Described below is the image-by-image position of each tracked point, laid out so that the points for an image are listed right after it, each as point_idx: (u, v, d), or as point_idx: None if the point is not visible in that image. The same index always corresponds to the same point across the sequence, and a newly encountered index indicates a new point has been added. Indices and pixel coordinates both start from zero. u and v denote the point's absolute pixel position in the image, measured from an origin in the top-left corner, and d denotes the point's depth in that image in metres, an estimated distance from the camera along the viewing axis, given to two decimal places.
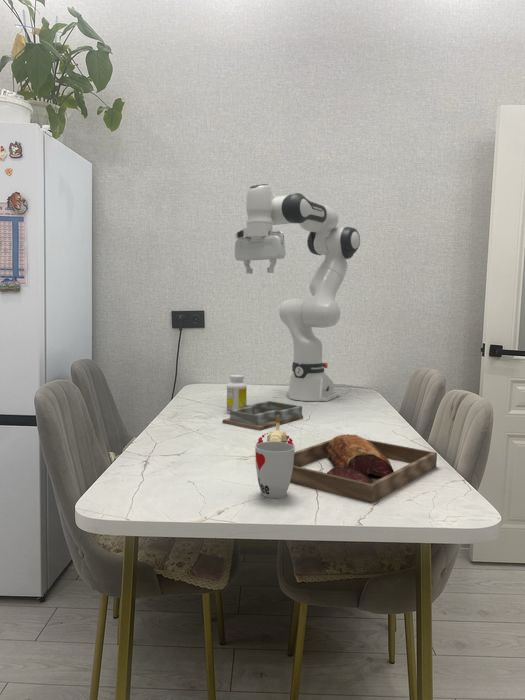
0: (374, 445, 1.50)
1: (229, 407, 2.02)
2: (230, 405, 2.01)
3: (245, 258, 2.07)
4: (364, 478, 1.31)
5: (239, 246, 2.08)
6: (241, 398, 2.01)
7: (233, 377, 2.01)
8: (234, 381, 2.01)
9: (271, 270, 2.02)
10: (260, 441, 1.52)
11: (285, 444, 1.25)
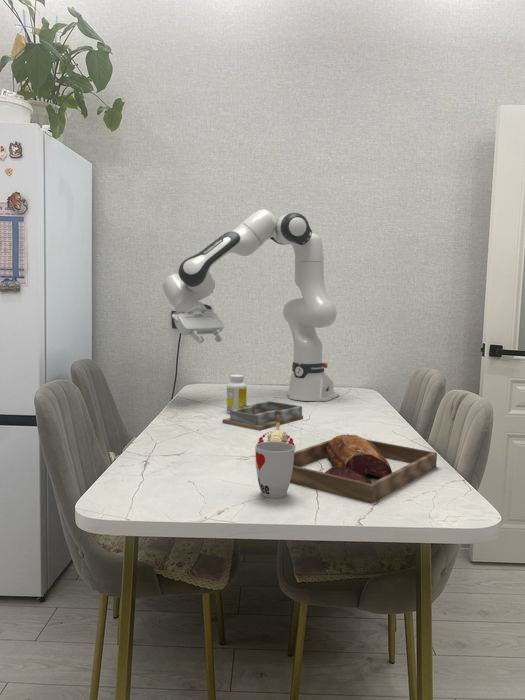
0: None
1: (229, 407, 2.02)
2: (230, 405, 2.01)
3: None
4: (362, 478, 1.31)
5: None
6: (241, 398, 2.01)
7: (233, 377, 2.01)
8: (234, 381, 2.01)
9: (198, 341, 2.05)
10: (261, 441, 1.52)
11: (285, 444, 1.25)
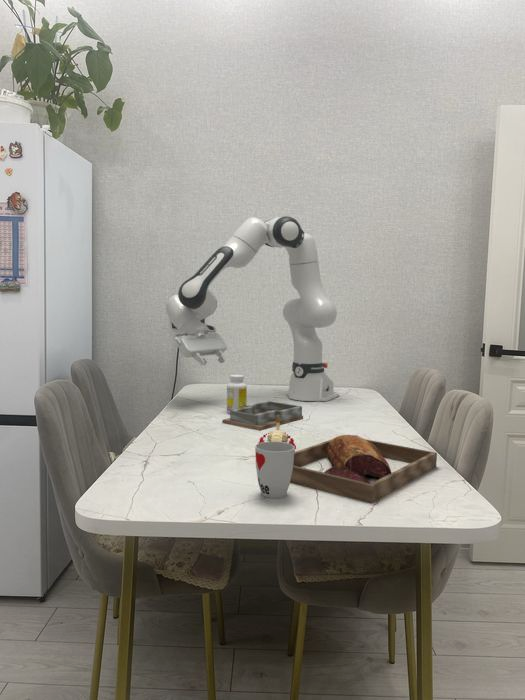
0: (374, 446, 1.49)
1: (229, 407, 2.02)
2: (230, 405, 2.01)
3: None
4: (360, 479, 1.31)
5: None
6: (241, 398, 2.01)
7: (233, 377, 2.01)
8: (234, 381, 2.01)
9: (201, 363, 2.05)
10: (261, 441, 1.52)
11: (285, 444, 1.25)
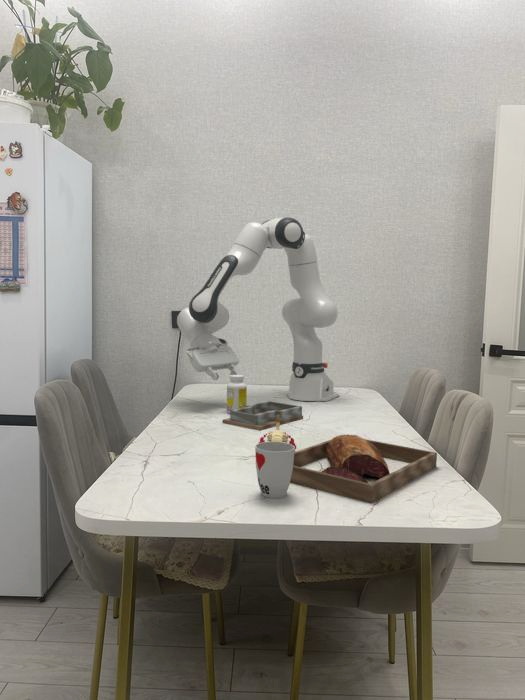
0: (374, 446, 1.49)
1: (229, 407, 2.02)
2: (230, 405, 2.01)
3: None
4: (358, 478, 1.31)
5: None
6: (241, 398, 2.01)
7: (233, 377, 2.01)
8: (234, 381, 2.01)
9: (213, 377, 2.02)
10: (262, 441, 1.52)
11: (285, 444, 1.25)
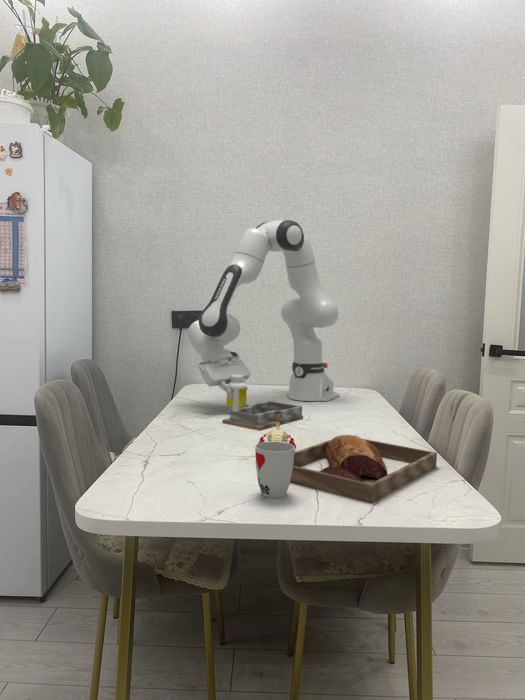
0: (373, 446, 1.49)
1: (229, 407, 2.02)
2: (230, 405, 2.01)
3: None
4: (355, 479, 1.30)
5: None
6: (241, 398, 2.01)
7: (233, 377, 2.01)
8: (234, 381, 2.01)
9: (227, 392, 2.00)
10: (262, 440, 1.53)
11: (285, 444, 1.25)
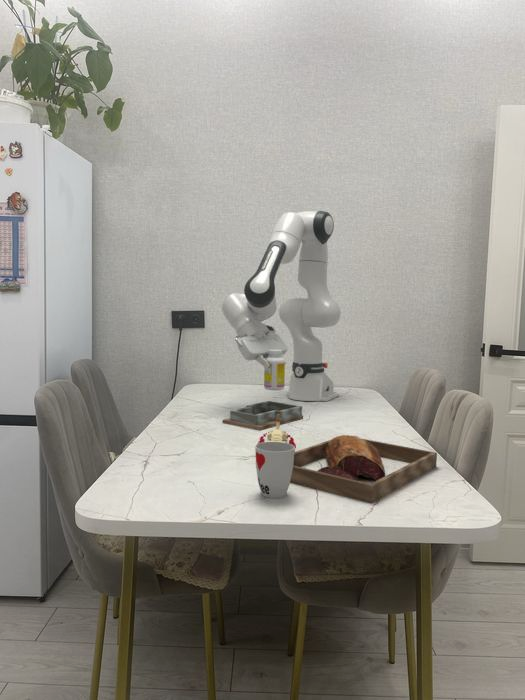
0: (373, 447, 1.48)
1: (267, 382, 1.93)
2: (268, 381, 1.93)
3: None
4: (352, 479, 1.30)
5: None
6: (280, 373, 1.93)
7: (271, 351, 1.93)
8: (272, 355, 1.93)
9: (265, 366, 1.92)
10: (262, 440, 1.53)
11: (285, 444, 1.25)
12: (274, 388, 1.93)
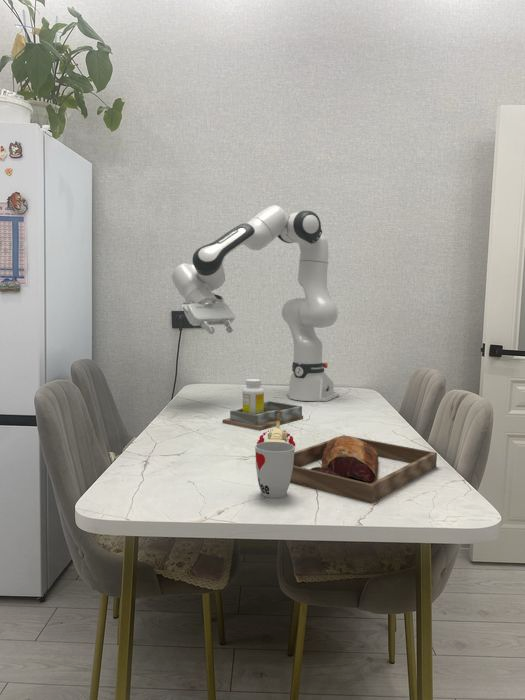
0: (371, 449, 1.47)
1: None
2: (246, 412, 1.85)
3: None
4: None
5: None
6: (258, 404, 1.85)
7: (249, 382, 1.85)
8: (251, 386, 1.85)
9: (209, 331, 1.99)
10: (261, 439, 1.54)
11: (285, 444, 1.25)
12: None
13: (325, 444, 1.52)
